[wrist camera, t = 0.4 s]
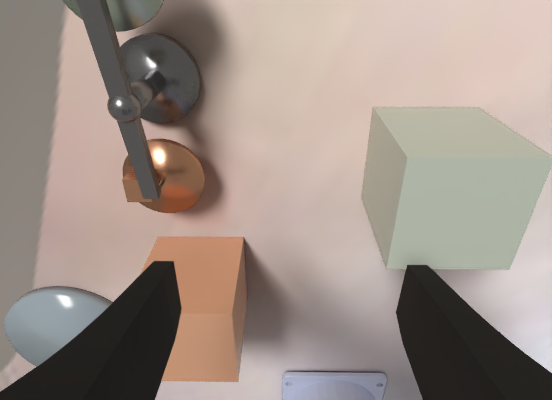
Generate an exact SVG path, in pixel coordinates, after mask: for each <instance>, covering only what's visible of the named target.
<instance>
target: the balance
mask: <svg viewBox="0 0 552 400" xmlns="http://www.w3.org/2000/svg"><path fill="white" fill-rule="evenodd" d="M62 1H63V2H64V3H65V4H66V5H67V6H68V8H69V9H71V10H72V11H73V12H74V13H75V14H76V15H77V16H78V17H80V18H81V19H82V20H83V21H84V24H85V27H86V30H87V33H88V36H89V39H90V42H91V45H92V48H93V51H94V54H95V57H96V60H97V63H98V66H99V69H100V71H101V74H102V77H103V80H104V83H105V86H106V89H107V92H108V95H109V99H108V104H107V107H108V111H109V113H110V115H111V116H112V117H113V118H114V119H116V120H117V122H118V125H119V128H120V131H121V134H122V137H123V140H124V143H125V146H126V149H127V152H128V156H127V158H126V160H125V162H124V165H123V179H122V181H123V185H124V189H125V193H126V198H127V202H139V203H141V204H142V205H144V206H145V207H147V208H149V209H152V210H154V211H158V212H163V213H176V212H181V211H184V210H186V209H188V208H190V207H192V206H193V205H194V204H195V203H196V202H197V201H198V199H199V198H200V196H201V194H202V191H203V188H204V185H205V174H204V170H203V167H202V165H201V163H200V161H199V160H198V158H197V157H196V156H195V154H194V153H193V152H192V151H190V150H189V149H188V148H187V147H185V146H183V145H182V144H180V143H177V142H175V141H172V140H167V139H151V140H146V136H145V133H144V129H143V126H142V122H141V119H140V118H143V119H145V120H147V121H151V122H156V123H168V122H173V121H176V120H178V119H180V118H182V117H183V116H185V115H186V114H187V113H188V112H189V111H190V110H191V108H192V107H193V105H194V104H195V102H196V101H197V98H198V96H199V92H200V85H201V82H200V73H199V70H198V67H197V64H196V62H195V60H194V59H193V57H192V55H191V54H190V53H189V51H188V50H187V49H186V48H185V47H184V46H183V45H181V44H180V43H179V42H177V41H176V40H174V39H172V38H170V37H168V36H165V35H161V34H154V33H149V34H142V35H139V36H137V37H134V38H132V39H130V40H128V41H126V42H125V43H124V44H123V45H122V46H121V47H120V46H119V42H118V39H117V35H116V32H115V31H117V32H120V31H128V30H132V29H135V28H138V27H140V26H142V25H144V24H146V23H147V22H149V21H150V20H151V19H152V18H153V17H154V16H155V15H156V14H157V13H158V11H159V10H160V8H161V6H162V4H163V2H164V0H62Z"/></svg>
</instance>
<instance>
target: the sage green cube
mask: <svg viewBox="0 0 552 400" xmlns="http://www.w3.org/2000/svg"><path fill="white" fill-rule="evenodd" d="M551 166H552V155H550V154H549V153H547V152H546V151H544V150H543V149H541V148H540V147H538V146H537V145H535V144H534V143H532V142H531V141H529V140H528V139H526V138H525V137H523V136H522V135H520V134H519V133H517V132H516V131H514V130H513V129H511V128H510V127H508V126H507V125H505V124H504V123H502V122H501V121H499V120H498V119H496V118H495V117H493V116H492V115H490V114H489V113H487V112H486V111H484V110H483V109H481V108H480V107H373V111H372V119H371V126H370V134H369V142H368V150H367V158H366V166H365V173H364V181H363V189H362V197H361V198H362V201H363V204H364V207H365V210H366V213H367V215H368V218H369V221H370V224H371V227H372V230H373V232H374V235H375V238H376V241H377V244H378V246H379V249H380V252H381V255H382V258H383V261H384V263H385V266H386V269H406V268H407V265H428V266H429V267H430V268H431V269H454V270H510V267H511V265H512V262H513V260H514V257H515V255H516V252H517V250H518V247H519V245H520V243H521V240H522V238H523V235H524V233H525V230H526V228H527V225H528V223H529V220H530V218H531V216H532V213H533V211H534V208H535V206H536V203H537V201H538V198H539V196H540V193H541V191H542V189H543V186H544V184H545V181H546V179H547V176H548V174H549V171H550V169H551Z"/></svg>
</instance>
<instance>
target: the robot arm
mask: <svg viewBox="0 0 552 400" xmlns="http://www.w3.org/2000/svg"><path fill="white" fill-rule="evenodd" d="M181 310H182V307H181V301H180V295H179V289H178V283H177V278H176V272H175V266H174V261H153V262H152V263H151V264H150V265H149V266H148V267H147V268H146V269H145V270H144V271H143V272H142V273H141V275H140V276H139V277H138V278H137V279H136V280H135V281H134V282H133V283H132V284H131V285H130V286H129V287H128V288H127V289H126V290H125V291H124V292H123V293H122V294H121V295H120V296H119V297H118V298H117V299H116V300H115V301H114V302H113V303H112V304H111V305H110V306H109V307H108V308H107V309H106V310H105V311H104V312H103V313H101V314H100V315H99V316H98V317H97V318H96V319H95V320H94V321H93V322H91V323H90V324H89V325H88V326H87V327H86V328H85V329H84V330H83V331H81V332H80V333H79V334H78V335H77V336H76V337H75V338H73V339H72V340H71V341H70V342H69V343H67V344H66V345H65V346H64V347H62V348H61V349H60V350H59V351H57V352H56V353H55V354H53V355H52V356H51V357H49V358H48V359H47V360H46V361H44V362H43V363H41V364H40V365H39V366H37V367H36V368H34V369H33V370H32V371H30V372H29V373H27V374H26V375H24V376H23V377H21V378H20V379H18V380H17V381H16V382H14V383H13V384H11V385H10V386H8V387H7V388H5V389H4V390H2V391H1V392H0V400H155V397H156V395H157V392H158V389H159V386H160V383H161V380H162V377H163V374H164V371H165V368H166V366H167V363H168V360H169V357H170V354H171V351H172V348H173V345H174V342H175V338H176V334H177V329H178V325H179V320H180V315H181ZM396 314H397V319H398V324H399V328H400V333H401V337H402V341H403V345H404V348H405V351H406V354H407V356H408V359H409V362H410V365H411V368H412V370H413V373H414V376H415V379H416V381H417V384H418V387H419V390H420V392H421V395H422V398H423V400H552V373H551V372H549V371H548V370H547V369H545V368H544V367H543V366H541V365H540V364H539V363H537V362H536V361H534V360H533V359H532V358H530V357H529V356H528V355H526V354H525V353H524V352H523V351H521V350H520V349H519V348H518V347H516V346H515V345H514V344H513V343H511V342H510V341H509V340H508V339H507V338H505V337H504V336H503V335H502V334H501V333H500V332H498V331H497V330H496V329H495V328H494V327H492V326H491V325H490V324H489V323H488V322H487V321H486V320H485V319H483V318H482V317H481V316H480V315H479V314H478V313H477V312H476V311H475V310H474V309H472V308H471V307H470V306H469V305H468V304H467V303H466V302H465V301H464V300H463V299H462V298H461V297H460V296H459V295H458V294H457V293H456V292H455V291H454V290H453V289H452V288H451V287H449V286H448V285H447V284H446V283H445V282H444V281H443V280H442V279H441V278H440V277H439V276H438V275H437V274H436V273H435V272H434V271H433V270H432V269H431V268H430V267H429V266H428V265H407V268H406V272H405V276H404V281H403V285H402V289H401V294H400V298H399V302H398V306H397V311H396ZM386 382H387V378H386V375H385V374H383V373H349V372H286V373H284V374H283V377H282V400H382V399H383V395H384V391H385V387H386Z"/></svg>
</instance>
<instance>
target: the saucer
mask: <svg viewBox="0 0 552 400" xmlns="http://www.w3.org/2000/svg"><path fill="white" fill-rule="evenodd" d="M111 304H112V302H111V301H109V300H107V299H105V298H103V297H101V296H99V295H97V294H94V293H92V292H89V291H86V290H82V289H77V288H71V287H61V286H54V287H44V288H39V289H36V290H33V291H30V292H28V293H26V294H25V295H23V296H22V297H21V298H20V299H19V300H18V301H17V302H16V303H15V304H14V306H13V307H12V308H11V309H10V311H9V312H8V313H7V316H6V318H5V323H4V327H5V333H6V336H7V338H8V340H9V342H10V344H11V345H12V347H13V348H14V349H15V350H16V351H17V352H18V353H19V354H20V355H21V356H22V357H23V358H24V359H26V360H27V361H28V362H30V363H32V364H33V365H35V366H39V365H40V364H41V363H43V362H44V361H46V360H47V359H48V358H49V357H51V356H52V355H53V354H55V353H56V352H57V351H59V350H60V349H61V348H62V347H64V346H65V345H66V344H67V343H69V342H70V341H71V340H72V339H73V338H75V337H76V336H77V335H78V334H79V333H80V332H81V331H83V330H84V329H85V328H86V327H87V326H88V325H89V324H90V323H91V322H93V321H94V320H95V319H96V318H97V317H98V316H99V315H100V314H101V313H103V312H104V311H105V310H106V309H107V308H108V307H109V306H110V305H111Z"/></svg>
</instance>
